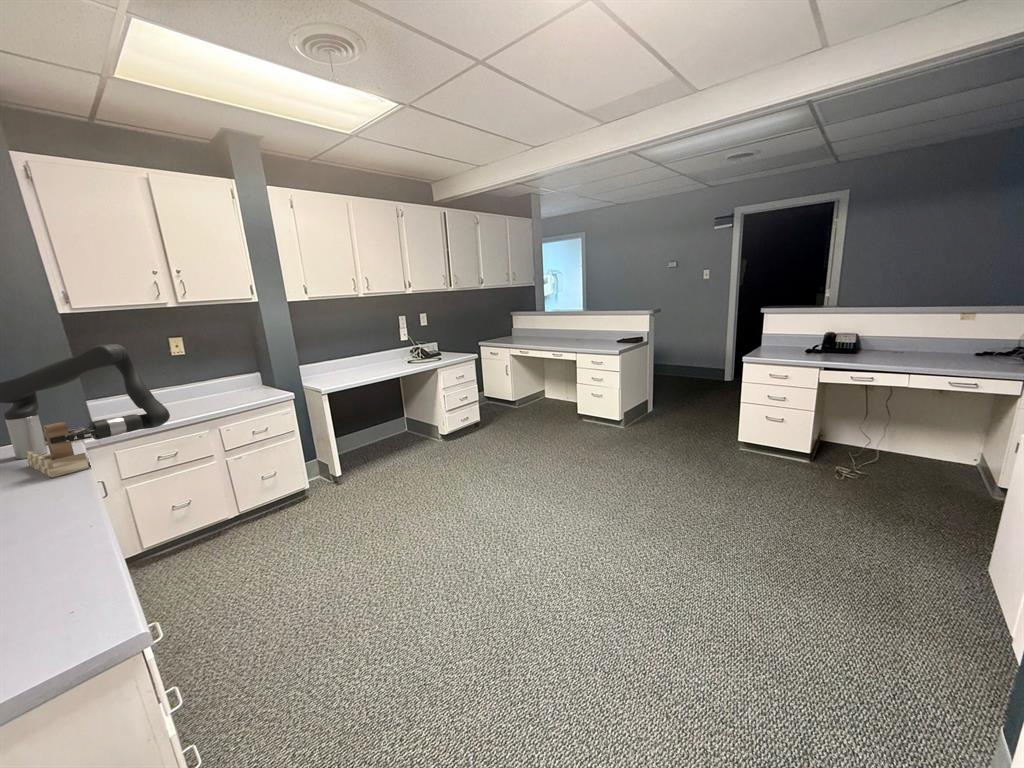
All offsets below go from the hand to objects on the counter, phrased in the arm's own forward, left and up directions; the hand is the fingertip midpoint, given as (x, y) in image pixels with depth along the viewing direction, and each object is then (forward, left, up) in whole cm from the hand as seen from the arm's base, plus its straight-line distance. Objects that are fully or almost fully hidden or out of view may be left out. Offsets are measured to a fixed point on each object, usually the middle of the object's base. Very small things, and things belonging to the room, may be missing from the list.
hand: (48, 440), depth 154 cm
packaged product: (-62, +16, -14) cm, 65 cm away
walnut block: (0, +3, -9) cm, 9 cm away
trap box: (-9, +3, -13) cm, 16 cm away
